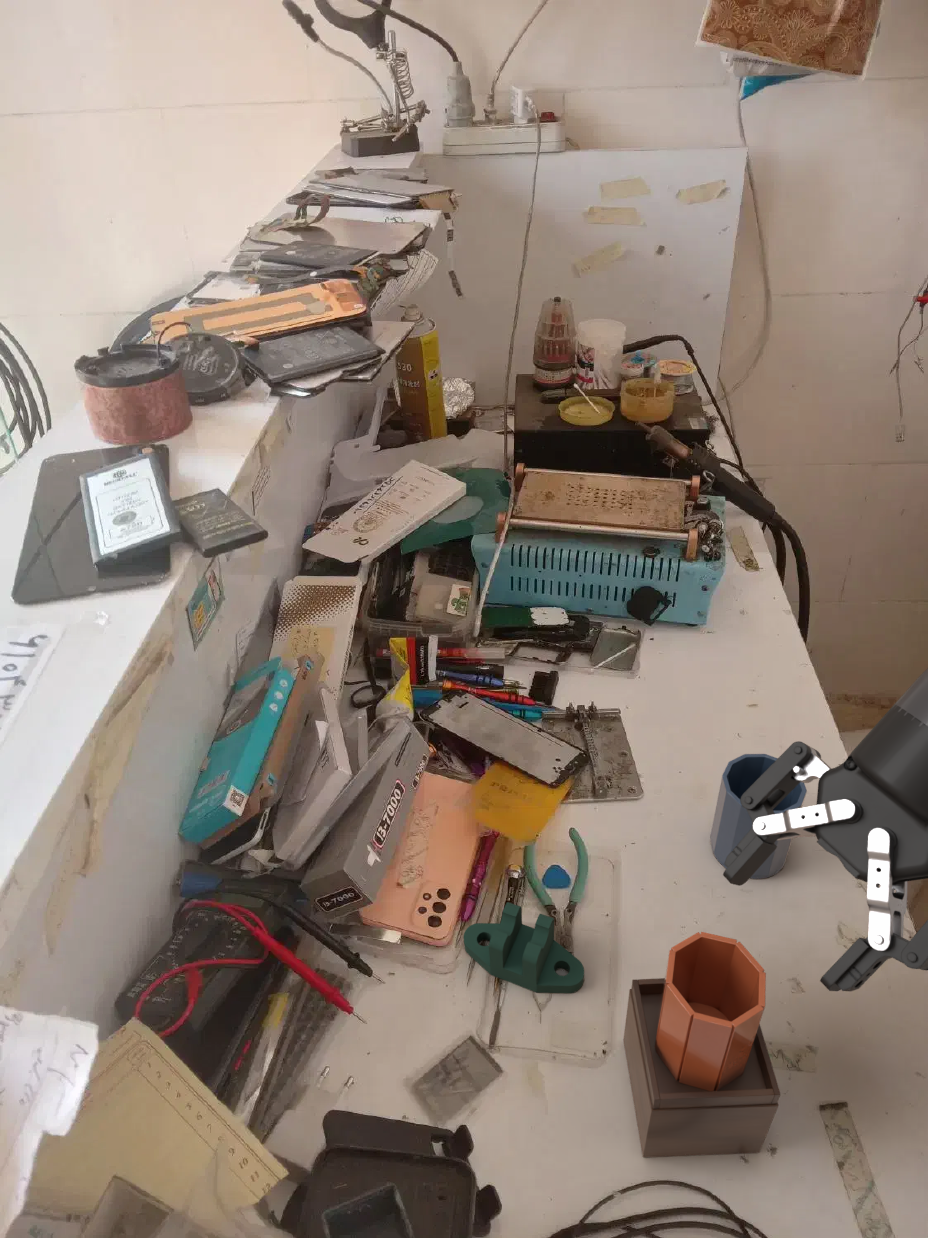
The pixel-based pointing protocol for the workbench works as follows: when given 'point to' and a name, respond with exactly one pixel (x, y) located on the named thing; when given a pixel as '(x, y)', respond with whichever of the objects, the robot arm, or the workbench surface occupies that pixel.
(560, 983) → the mount
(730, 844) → the slate cup
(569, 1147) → the workbench surface
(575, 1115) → the workbench surface
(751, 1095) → the box
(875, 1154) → the workbench surface
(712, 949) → the terracotta cup
